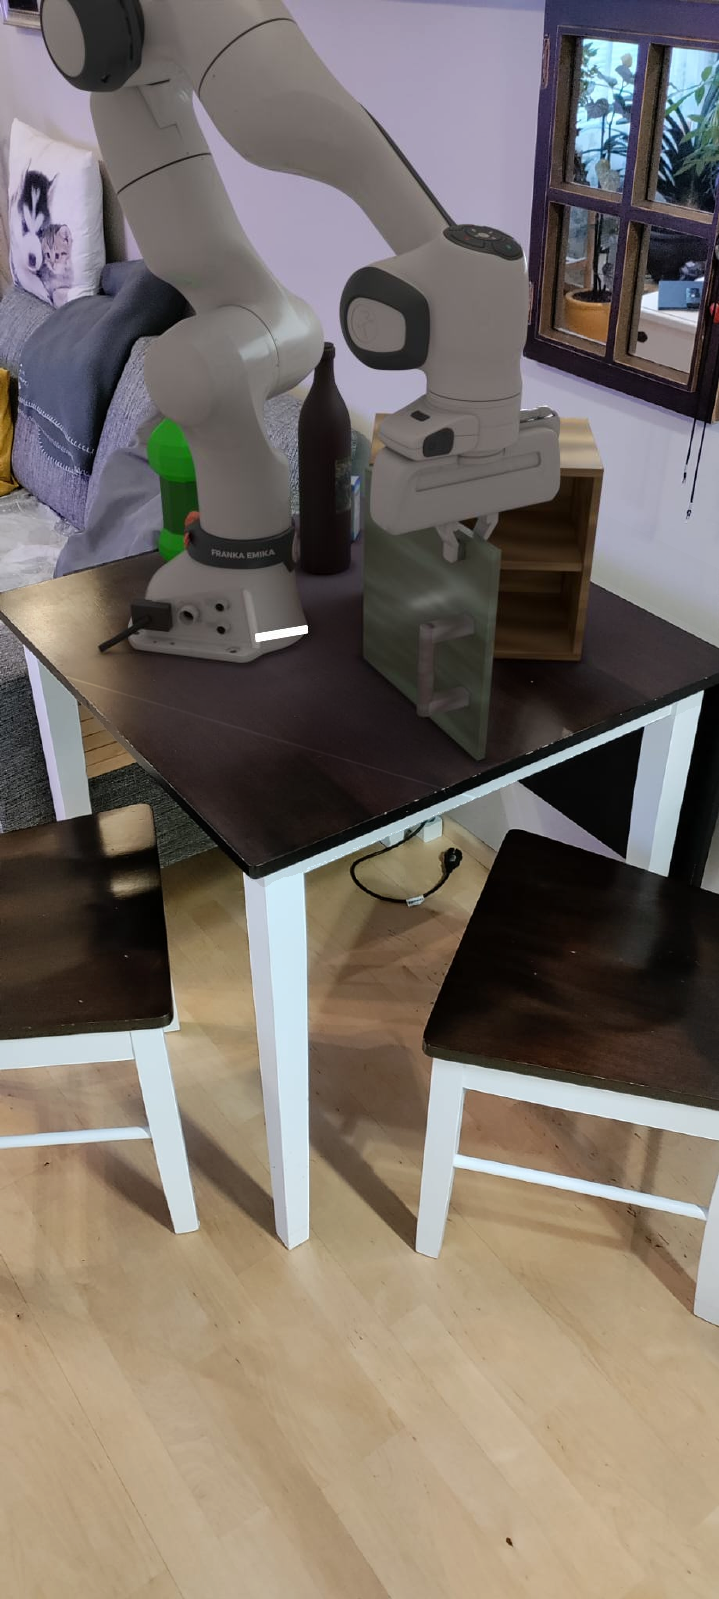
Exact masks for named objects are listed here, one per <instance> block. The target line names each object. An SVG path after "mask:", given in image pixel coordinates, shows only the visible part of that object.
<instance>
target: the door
mask: <svg viewBox="0 0 719 1599" xmlns="http://www.w3.org/2000/svg"><path fill="white" fill-rule="evenodd" d="M372 471H373V466H370V467H369V466H365V467H364V526H363V528H364V531H363V532H364V533H363V534H364V535H363V536H364V537H363V543H364V544H363V615H362V616H363V619H362V620H363V622H362V624H363V627H362V630H363V631H362V634H363V635H362V658H363V659H364V660H365V661H366V662H367V663H368V664H370V665H371V666H372V667H373V668H374V669H375V670H376V671H377V672H378V673H380V674H381V675H382V676H383V677H384V678H385V679H386V680H387V681H388V682H389V683H391V684H392V685H393V686H394V687H395V688H397V689H398V691H399V692H401V693H402V694H403V695H404V696H405V697H406V698H407V699H408V700H409V701H410V702H412V703H413V704H414V705H415V707H416V714H417V716H419V717H421V718H429V719H430V720H432V721H433V722H434V723H435V724H436V725H437V726H438V727H439V728H440V729H441V730H443V731H444V732H445V733H446V734H447V735H448V736H449V737H450V738H451V739H453V741H455V742H456V743H457V744H458V745H459V746H460V747H461V748H462V749H463V750H464V751H466V752H467V753H468V754H469V755H470V756H471V757H472V758H473V759H474V760H476V761H477V762H479V761H482V760H485V759H486V752H487V750H486V749H487V739H488V724H489V713H490V712H489V710H490V702H491V700H490V699H491V689H492V688H491V686H492V674H493V663H494V662H493V661H494V658H493V651H494V638H495V625H496V613H497V600H498V588H499V575H500V562H501V550H500V549H499V548H497V547H496V546H494V545H493V544H491V543H490V542H488V541H487V540H485V539H483V538H482V537H480V536H479V535H477V534H476V533H474V532H473V531H471V530H470V529H468V528H467V527H465V526H464V525H462V524H461V523H459V522H458V530H457V531H453V533H454V536H455V538H456V539H458V540H460V542H463V543H464V544H466V551H465V552H464V554H465V559H464V560H460V561H456V562H452V563H451V562H449V561H448V560H446V559H445V558H444V555H443V549H444V541H443V540H442V539H441V537H440V535H439V533H438V532H437V530H436V528H435V527H430V528H426V529H422V530H417V531H413V532H408V533H404V534H400V535H391V534H389V533H388V532H386V531H385V530H383V529H382V528H380V527H379V526H378V525H377V524H376V523H375V522H374V521H373V519H372V517H371V514H370V492H371V479H372Z"/></svg>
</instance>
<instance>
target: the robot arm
mask: <svg viewBox="0 0 719 1599" xmlns="http://www.w3.org/2000/svg"><path fill="white" fill-rule="evenodd" d="M38 15H39V25H40V26H39V27H40V31H41V36H42V39H43V43H44V47H45V49H46V51H47V54H48V56H49V58H50V60H51V62H52V64H53V66H54V67H55V69H56V70H57V71H58V73H59V74H60V75H61V76H62V77H63V78H64V79H65V80H66V82H67V83H68V84H70V85H71V86H72V87H73V88H75V89H77V90H79V91H83V92H84V91H85V92H90V95H89V110H90V115H91V120H92V124H93V128H94V132H95V136H96V140H97V143H98V144H97V145H98V148H99V151H100V154H101V157H102V161H103V163H104V166H105V169H106V171H107V175H108V178H109V180H110V183H111V185H112V188H113V190H114V193H115V196H116V197H117V200H118V202H119V205H120V207H121V208H120V209H121V211H122V213H123V214H124V217H125V219H126V221H127V224H128V226H129V229H130V231H131V233H132V236H133V238H134V240H135V243H136V245H137V248H138V250H139V252H140V255H141V257H142V259H143V263H144V264H145V266H146V267H147V269H148V270H149V271H150V272H151V274H153V275H154V276H155V277H157V278H158V279H160V280H162V281H164V282H165V283H167V284H170V285H171V286H172V287H174V288H175V289H176V290H177V291H178V292H179V293H180V294H181V295H182V296H183V297H184V298H185V299H186V301H187V302H188V303H189V304H190V306H191V307H192V308H193V310H194V312H195V313H196V315H193V316H189V317H186V318H184V319H182V320H180V321H178V322H177V323H175V324H174V325H173V326H171V327H170V328H168V329H167V330H165V331H164V332H163V333H162V334H161V335H159V336H158V337H157V338H156V339H154V340H153V342H151V344H150V345H149V347H148V348H147V350H146V353H145V355H144V360H143V379H144V384H145V387H146V391H147V393H148V395H149V398H150V400H151V401H152V403H153V405H154V406H155V407H156V409H157V410H158V411H159V412H160V413H161V414H162V415H163V416H164V417H165V418H168V419H169V420H171V421H172V422H174V423H175V424H176V425H177V426H178V427H179V428H180V430H181V431H182V433H183V435H184V437H185V439H186V441H187V444H188V446H189V449H190V452H191V455H192V458H193V463H194V467H195V474H196V484H197V493H198V505H199V512H197V511H192V512H190V513H189V515H188V516H187V519H186V521H185V526H186V528H185V530H184V547H185V550H184V551H183V552H181V553H180V554H179V555H177V556H176V557H175V558H173V559H172V560H170V561H169V562H166V563H165V564H163V565H162V566H161V567H159V568H158V569H157V571H155V573H154V575H152V577H151V579H150V581H149V583H148V585H147V588H146V591H145V595H144V596H145V597H144V598H135V599H133V601H132V602H131V603H130V604H129V606H130V618H129V621H128V625H127V628H126V629H125V630H123V631H122V632H119V633H118V634H116V635H115V636H113V637H111V638H110V639H108V640H105V641H104V642H102V643H101V644H99V645H98V646H97V648H98V651H99V652H101V653H104V652H105V651H107V650H109V649H111V648H113V647H115V646H116V645H118V644H119V643H121V642H123V641H124V640H128V643H129V644H130V646H131V647H132V648H133V649H134V650H137V651H138V650H139V651H144V652H152V653H159V654H167V655H175V656H185V657H192V658H200V659H206V660H214V661H221V662H222V661H223V662H231V663H238V664H244V663H245V664H246V663H249V662H252V661H254V660H256V659H258V658H259V657H261V656H262V655H265V654H267V653H271V652H275V651H278V650H282V649H284V648H287V647H289V646H292V645H293V644H295V643H296V642H298V641H300V640H301V639H302V638H303V637H304V636H305V634H308V632H309V631H308V622H307V619H306V617H305V614H304V611H303V610H304V609H303V606H302V603H301V599H300V595H299V589H298V582H297V576H296V565H297V562H298V535H297V533H298V532H297V531H296V520H295V519H294V518H293V516H292V480H291V479H292V478H291V463H290V459H289V457H288V455H287V453H286V451H285V450H284V449H283V448H282V447H281V446H280V445H278V444H277V443H275V442H274V441H272V440H271V439H270V436H269V433H268V430H267V427H266V422H265V416H264V407H265V405H266V404H265V403H266V402H267V401H269V400H271V399H274V398H276V397H278V396H281V395H282V394H284V393H287V392H289V391H291V390H293V389H295V388H296V387H297V386H298V385H299V384H301V383H302V382H303V381H304V380H305V379H306V378H307V377H308V376H310V374H311V373H312V372H314V369H315V368H316V366H317V365H318V363H319V362H320V360H321V357H322V354H323V350H324V342H325V333H324V328H323V325H322V322H321V320H320V317H319V316H318V314H317V313H316V311H315V309H314V308H313V306H311V304H310V303H308V302H307V301H306V300H305V299H304V298H302V297H300V296H298V295H296V294H295V293H293V292H292V291H290V290H289V289H288V288H286V286H285V285H283V283H281V281H280V280H279V279H278V278H277V277H276V275H275V274H274V273H273V271H272V270H271V269H270V268H269V266H268V265H267V264H266V262H265V261H264V260H263V258H262V257H261V255H260V254H259V253H258V251H257V250H256V248H255V246H254V245H253V244H252V242H251V240H250V239H249V237H248V235H247V234H246V232H245V230H244V228H243V226H242V224H241V221H240V219H239V218H238V215H237V213H236V210H235V208H234V205H233V203H232V201H231V198H230V196H229V194H228V191H227V189H226V187H225V183H224V181H223V179H222V176H221V174H220V172H219V169H218V167H217V164H216V161H215V159H214V156H213V153H212V151H211V148H210V146H209V144H208V141H207V138H206V137H205V135H204V132H203V130H202V128H201V125H200V123H199V120H198V118H197V115H196V111H195V107H194V101H193V99H194V98H193V96H194V93H195V95H196V97H197V99H198V100H199V102H200V104H201V105H202V107H203V108H204V111H205V113H207V116H208V117H209V118H210V120H211V123H212V124H213V125H214V127H215V128H216V130H217V131H218V133H219V134H220V136H221V137H222V138H223V139H224V140H225V141H226V143H228V145H230V147H231V149H233V150H234V151H235V152H236V153H237V154H238V155H239V156H240V157H241V158H243V160H245V161H246V162H248V163H250V164H252V165H253V166H257V167H259V168H261V169H264V170H268V171H272V172H277V173H284V174H288V175H293V176H297V177H303V178H306V179H309V180H313V181H316V182H319V183H322V184H325V185H327V186H330V187H332V188H334V189H336V190H338V191H340V192H341V193H343V194H345V195H346V196H347V197H348V198H350V199H351V200H352V201H353V202H354V203H356V205H357V206H358V207H359V208H360V209H361V210H362V212H363V213H364V214H365V216H366V218H368V220H369V222H371V224H372V225H373V226H374V228H375V229H376V230H377V232H378V233H379V234H380V236H381V237H382V239H383V240H384V241H385V242H386V243H387V245H388V247H389V248H390V249H391V250H392V252H393V253H394V254H395V256H391V257H387V258H384V259H380V260H377V261H374V262H371V263H369V264H367V265H364V266H363V267H361V268H359V269H357V270H356V271H354V272H353V273H352V274H351V275H350V276H349V277H348V279H347V281H346V282H345V284H344V287H343V289H342V292H341V295H340V301H339V309H338V310H339V311H338V312H339V313H338V315H339V316H338V317H339V325H340V330H341V334H342V336H343V339H344V341H345V344H346V346H347V347H348V349H349V351H350V352H351V353H352V355H353V356H354V357H355V358H356V359H357V360H358V361H359V362H360V363H362V364H363V365H364V366H366V367H368V368H370V369H373V370H376V371H377V370H378V371H392V372H394V371H396V372H397V371H411V370H418V371H421V372H423V373H424V375H425V378H426V385H425V386H426V388H425V389H426V391H425V393H424V394H422V395H421V396H419V397H418V398H416V399H414V401H412V402H410V403H409V404H407V405H406V406H404V407H402V408H400V409H398V410H396V411H395V412H393V413H390V414H391V415H389V416H387V417H386V418H384V419H382V420H381V421H380V423H379V424H378V438H379V440H380V441H381V442H382V443H383V444H385V445H386V446H385V447H383V448H382V449H381V450H380V451H379V453H378V454H377V456H376V458H375V461H374V465H373V471H372V479H371V492H370V514H371V517H372V519H373V521H374V522H375V523H376V524H377V525H378V526H379V527H380V528H382V529H383V530H385V531H386V532H388V533H389V534H391V535H400V534H404V533H408V532H413V531H417V530H422V529H426V528H430V527H435V528H436V530H437V532H438V533H439V535H440V537H441V539H442V540H443V541H444V549H443V555H444V558H445V559H446V560H448V561H449V562H451V563H452V562H456V561H460V560H464V559H465V554H464V552H465V551H466V544H464V543H463V542H460V540H458V539H456V538H455V536H454V533H453V531H457V530H458V522H459V521H462V520H466V519H470V518H475V517H477V518H478V521H477V523H476V525H475V527H474V529H473V532H474V533H476V534H477V535H479V536H480V537H482V538H483V539H485V540H487V539H488V538H489V536H490V534H491V533H492V531H493V529H494V528H495V526H496V524H497V522H498V514H499V512H502V511H506V510H511V509H515V508H519V507H524V506H528V505H533V504H537V503H542V502H546V501H550V500H552V499H553V498H554V496H555V495H556V493H557V492H558V490H559V486H560V446H559V440H558V439H559V433H560V418H561V417H560V416H559V414H558V412H557V411H556V410H554V408H553V409H552V408H550V406H549V405H538V406H535V407H533V408H522V396H523V379H522V373H521V358H522V354H523V351H524V348H525V346H526V343H527V336H528V324H529V323H528V322H529V306H530V305H529V302H530V282H529V281H530V280H529V279H530V278H529V276H530V275H529V267H528V261H527V256H526V253H525V251H524V248H523V246H522V244H521V243H520V242H519V241H518V240H517V239H515V237H514V236H512V235H510V234H509V233H507V232H505V231H503V230H501V229H497V228H494V227H492V226H487V225H478V224H477V225H476V224H473V223H463V224H462V223H461V224H457V223H456V222H455V220H454V219H453V218H452V216H450V214H449V213H448V212H447V211H446V209H445V207H444V206H443V205H442V204H441V202H440V201H439V200H438V199H437V197H436V196H435V195H434V193H433V192H432V190H431V189H430V188H429V186H428V184H426V183H425V181H424V180H423V178H422V177H421V176H420V174H419V173H418V172H417V170H416V169H415V168H414V165H412V164H411V161H410V160H409V159H408V158H407V156H406V155H405V154H404V153H403V151H402V150H401V148H400V147H399V146H398V144H396V142H395V141H394V139H393V138H392V137H391V135H389V133H388V132H387V131H386V129H385V128H384V127H383V126H382V124H380V122H379V121H378V120H377V119H376V118H375V117H374V116H373V115H372V114H371V113H370V112H369V111H368V109H367V108H365V107H364V105H363V104H361V102H359V101H358V100H357V99H356V98H355V97H354V96H353V95H352V94H351V93H350V92H349V91H348V90H347V89H346V88H345V87H344V86H343V85H342V83H341V82H340V81H339V80H338V79H337V78H336V77H335V75H334V74H333V73H332V71H330V69H329V68H328V66H327V65H326V63H324V61H323V60H322V58H320V56H319V55H318V53H317V52H316V51H315V49H314V48H313V46H312V45H311V44H310V42H309V40H308V39H307V37H306V36H305V34H304V33H303V31H302V29H301V28H300V26H299V25H298V23H297V21H296V20H295V18H294V16H293V15H292V13H291V11H289V9H288V7H287V6H286V5H285V2H283V0H40V3H39V14H38ZM521 408H522V409H521Z"/></svg>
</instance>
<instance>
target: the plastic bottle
mask: <svg viewBox="0 0 719 1599" xmlns="http://www.w3.org/2000/svg"><path fill="white" fill-rule="evenodd" d="M146 456H147V460H148V464H149V467H150V469H151V470H153V472H155V473H156V474H157V475H158V477H159V478H158V479H159V489H160V490H159V491H160V501H161V512H162V524H163V525H162V528H161V531H160V534H159V538H158V541H157V544H158V551H159V552H158V553H159V554H160V555H161V557H162V559H163V560H164V561H165V562H166V563H168V562H169V561H170V560H172V559H173V558H175V557H176V556H177V555H179V554H180V553H181V552H183V551H184V550H185V547H184V530H185V528H186V526H185V521H186V519H187V516H188V515H189V513H190V512H192V511H197V512H199V505H198V493H197V484H196V474H195V467H194V463H193V458H192V455H191V452H190V449H189V446H188V444H187V441H186V439H185V437H184V435H183V433H182V431H181V430H180V428H179V427H178V426H177V425H176V424H175V423H174V422H172V421H171V420H169V419H168V418H166V417H165V418H163V420H162V421H161V422H160V423H159V424H158V425H157V426H156V427H155V428H154V429H152V431H151V434H150V437H149V439H148V442H147V446H146Z"/></svg>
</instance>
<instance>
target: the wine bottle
mask: <svg viewBox="0 0 719 1599" xmlns="http://www.w3.org/2000/svg"><path fill="white" fill-rule="evenodd" d="M335 358H336V347H335V344H334V343H333V342H330V341H324V350H323V354H322V357H321V360H320V362H319V363H318V365H317V366H316V368H315V369H314V370H313V380H312V384H311V387H310V389H309V391H308V393H307V395H306V397H305V398H304V401H303V402H302V406H301V408H300V411H299V416H298V421H297V464H298V466H297V467H298V468H297V469H298V471H297V472H298V513H299V514H298V515H299V554H300V555H299V561H300V565H301V568H302V569H303V570H304V571H307V572H308V573H312V574H317V575H335V574H340V573H343V572H345V571H346V570H348V569H349V568H350V565H351V563H352V562H351V561H352V541H351V476H352V421H351V417H350V411H349V409H348V406H347V404H346V402H345V400H344V398H343V396H342V394H341V392H340V391H339V390H340V389H339V388H338V385H337V383H336V377H335V362H334V361H335Z"/></svg>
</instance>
